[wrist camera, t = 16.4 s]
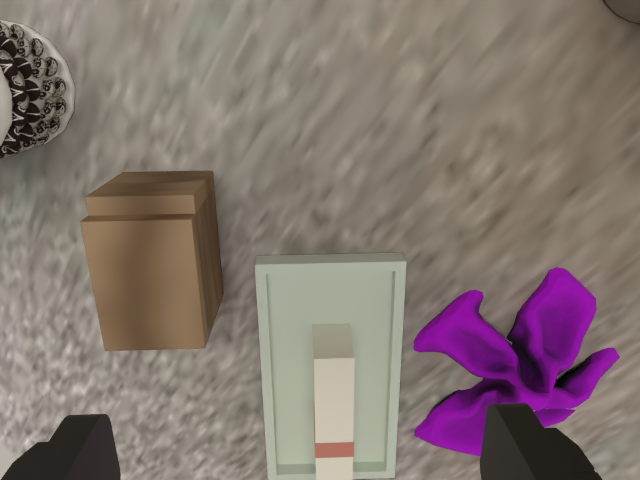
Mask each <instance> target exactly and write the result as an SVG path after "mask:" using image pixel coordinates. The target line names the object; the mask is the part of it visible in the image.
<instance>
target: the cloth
mask: <svg viewBox="0 0 640 480" xmlns="http://www.w3.org/2000/svg"><path fill="white" fill-rule="evenodd" d="M482 300H483V293H482V292H480V291H477V290H470V291H468V292H466V293H464V294H463V295H461V296H459V297H458V298H457V299H455V300H454V301H453V302H452V303H451V304H450V305H449V306H448V307H447V308H446V310H445V311H444V312H443V313H441V314H439V315H437V316H436V317H435V318H434V319H433V320H432V321H431V322H430V323H429V324H428V325H427V326H425V327H424V328H423V329H422V330H421V332H420V333H419V334H418V335H417V337H416V339H415V340H414V350H415V351H417V352H441V353H444V354H447V355H448V356H449V357H451V358H452V359H453V360H455V361H456V362H458V363H459V364H460V365H461V366H463V367H464V368H465V369H466V370H468V371H469V372H470V373H471V374H474V375H476V376H478V377H483V380H482V381H481V382H479V383H478V384H477V385H475V386H474V387H472V388H471V389H467V390H457V391H455V392H453V394H452V395H451V396H450V397H449V398H447V399H446V400H445V401H444V402H443V403H441V404H439V405H437V406H436V407H434V408H433V409H432V411H431V412H430V413H429V415H428V416H427V418H426V419H425V420H424V421H423V422H422V423H421V424H420V425H419V426H418V427H417V428H416V429H415V432H414V433H415V436H416V437H419V438H421V439H423V440H425V441H427V442H429V443H431V444H433V445H435V446H439V447H443V448H446V449H450V450H454V451H458V452H462V453H467V454H472V455H476V456H481V449H482V441H483V434H484V426H485V419H486V412H487V408H488V406H489V405H490V404H507V403H526V404H528V405H529V406H530V407H531V409H532V410H536V411H535V412H534V413H535V415H536V416H537V418H538V419H539V421H540V423H541V424H542V426H543V427H547V426H550V425H553V424H555V423H558V422H561V421H564V420H565V419H566V418H567V417H568V416H570V415H571V414H572V413H573V412H574V411H575V410H569V409H571V408H574V407H577V406H578V405H580V404H581V403H583V402H584V401H586V400H587V399H589V397H590V395H591V393H592V391H593V390H594V388H595V386H596V384H597V382H598V380H599V379H600V378H601V377H602V376H603V374H604V373H605V372H606V371H607V370H608V369H609V368H610V367H611V366H612V365H613V364H614V363H615V362H616V361H617V360H618V359H619V358H620V356H619V355H618V354H617V352H616V350H615V349H614V348H606V349H603V350H600V351H598V352H596V353H593V354H592V355H591V356H590V357H588V358H587V359H586V361H585V362H584V363H583V365H582V366H581V367H580V368H579V369H577V370H576V371H574V372H573V373H571V374H570V375H568V376H566V377H564V378H561V379H559V380H558V381H556V378H557V376H558V375H559V374H560V373H562V372H563V371H565V370H566V369H567V368H569V367H570V366H572V364H573V362H574V360H575V358H576V357H577V355H578V353H579V350H580V347H581V343H582V340H583V337H584V335H585V333H586V331H587V329H588V327H589V325H590V323H591V321H592V319H593V317H594V314H595V311H596V298H595V297H594V296H593V295H592V294H591V293H590V292H589V291H588V290H587V289H586V288H585V287H584V286H583V285H582V284H581V283H580V282H579V281H578V280H576V279H575V278H574V277H573V276H572V275H571V274H570V273H569V272H568V271H566V270H565V269H563V268H558V267H556V268H554V269H551V270H549V271H548V274H547V276H546V277H545V279H544V280H543V282H542V283H541V286H540V287H539V288H538V289H537V290H536V291H535V292H534V293H533V294H532V296H531V297H530V298H529V299H528V300H527V301H526V302H525V303H524V305H523V306H522V307H521V309H520V310H519V312H518V314H517V318H516V321H515V325H514V328H513V330H512V331H511V333H510V334H509V335H508V336H507V339H508V340H509V341H511V342H512V346H511V344H510V343H509V342H508V341H507V340H506V339H505V338H504V337H503V336H502V335H500V334H499V333H498V332H497V331H496V330H495V329H494V328H492V327H491V326H490V325H489V324H488V323H487V322H485V321H484V320H483V319H482V317H481V315H480V314H479V313H478V312H479V307H480V304H481V302H482ZM555 381H556V382H555ZM545 408H548V409H545Z"/></svg>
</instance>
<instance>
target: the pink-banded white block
mask: <svg viewBox="0 0 640 480" xmlns="http://www.w3.org/2000/svg"><path fill="white" fill-rule="evenodd" d="M313 368H314V439H315V469H316V480H353V457H354V438H353V432H354V369H355V357H354V351H353V345H352V339H351V333H350V327H349V323H342V324H313Z"/></svg>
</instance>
